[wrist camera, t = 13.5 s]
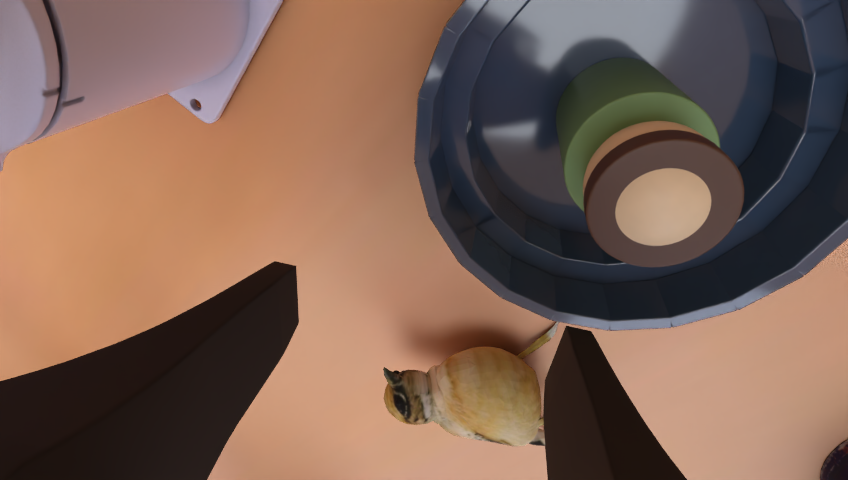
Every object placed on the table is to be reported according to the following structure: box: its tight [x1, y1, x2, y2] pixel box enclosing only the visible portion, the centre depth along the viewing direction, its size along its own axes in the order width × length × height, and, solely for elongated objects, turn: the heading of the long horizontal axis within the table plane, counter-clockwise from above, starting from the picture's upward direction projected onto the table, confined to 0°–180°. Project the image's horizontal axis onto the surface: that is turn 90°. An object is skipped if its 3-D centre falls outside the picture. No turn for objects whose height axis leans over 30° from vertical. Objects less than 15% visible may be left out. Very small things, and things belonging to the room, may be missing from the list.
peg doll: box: [556, 58, 744, 267], centre depth 13 cm, size 4×4×8 cm
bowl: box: [414, 0, 848, 331], centre depth 15 cm, size 13×13×5 cm
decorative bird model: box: [383, 322, 559, 446], centre depth 24 cm, size 4×13×10 cm
